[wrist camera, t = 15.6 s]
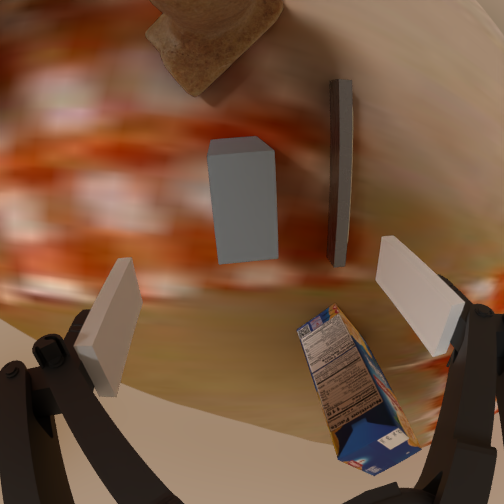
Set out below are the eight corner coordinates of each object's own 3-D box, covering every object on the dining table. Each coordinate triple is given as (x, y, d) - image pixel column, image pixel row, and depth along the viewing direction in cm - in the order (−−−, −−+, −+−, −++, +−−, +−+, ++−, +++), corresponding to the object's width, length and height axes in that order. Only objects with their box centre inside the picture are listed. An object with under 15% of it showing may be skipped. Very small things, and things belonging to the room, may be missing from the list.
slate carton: (210, 139, 34) (206, 156, 23) (258, 135, 34) (277, 150, 23) (218, 216, 37) (218, 264, 27) (262, 212, 38) (281, 258, 27)
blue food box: (334, 302, 45) (397, 427, 25) (365, 341, 49) (421, 449, 29) (296, 329, 46) (337, 459, 26) (331, 364, 50) (374, 476, 31)
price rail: (326, 256, 41) (333, 267, 39) (329, 80, 32) (338, 79, 29) (339, 255, 41) (346, 266, 39) (343, 81, 32) (354, 80, 29)
